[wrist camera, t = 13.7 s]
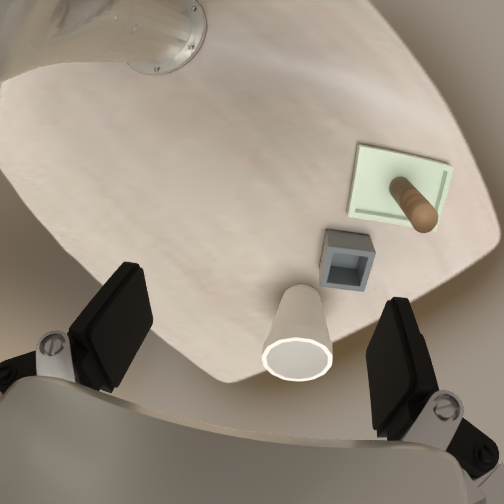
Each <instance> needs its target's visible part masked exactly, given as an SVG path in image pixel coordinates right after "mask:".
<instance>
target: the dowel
mask: <svg viewBox="0 0 504 504" xmlns="http://www.w3.org/2000/svg"><path fill="white" fill-rule="evenodd" d="M389 191H390V194H391V195H392V197H393V198H394V200H395V201H396V202H397V204H398V205H399V207H400V208H401V210H402V211H403V212H404V214H405V215H406V217H407V218H408V220H409V221H410V223H411V224H412V226H413V227H414V229H415V230H416V231H418V232H420V233H427V232H430V231H431V230H433V229H434V228H435V226H436V225H437V222H438V212H437V210H436V209H435V208H434V207H433V206H432V205H431V204H430V202H429V201H428V200H427V199H426V198H425V197H424V196H423V195H422V194H421V193H420V192H419V191H418V190H417V189H416V188H415V187H414V186H413V185H412V184H411V183H410V182H409V181H408V180H407V179H406V178H404V177H396V178H395V179H393V180H392V181H391V183H390V186H389Z"/></svg>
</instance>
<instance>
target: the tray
mask: <svg viewBox="0 0 504 504" xmlns="http://www.w3.org/2000/svg"><path fill="white" fill-rule="evenodd" d="M453 168H454V167H453V166H451V165H450V164H448V163H444V162H441V161H437V160H433V159H429V158H425V157H421V156H417V155H412V154H408V153H403V152H399V151H394V150H389V149H384V148H379V147H374V146H369V145H363V144H357V151H356V158H355V164H354V171H353V177H352V183H351V189H350V195H349V200H348V206H347V211H346V212H347V215H348V217H352V218H359V219H365V220H372V221H379V222H385V223H391V224H398V225H404V226H410V227H413V226H412V224H411V223H410V221H409V220H408V218H407V217H406V215H405V214H404V212H403V211H402V210H401V208H400V207H399V205H398V204H397V202H396V201H395V200H394V198H393V197H392V195H391V194H390V191H389V186H390V183H391V181H392V180H393V179H395V178H396V177H404V178H406V179H407V180H408V181H409V182H410V183H411V184H412V185H413V186H414V187H415V188H416V189H417V190H418V191H419V192H420V193H421V194H422V195H423V196H424V197H425V198H426V199H427V200H428V201H429V202H430V204H431V205H432V206H433V207H434V208H435V209H436V210H437V212H438V222H437V225H436V226H435V228H434V229H433V231H437V228H438V224H439V221H440V218H441V214H442V211H443V208H444V204H445V200H446V197H447V193H448V189H449V185H450V181H451V177H452V172H453Z"/></svg>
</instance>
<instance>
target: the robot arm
mask: <svg viewBox="0 0 504 504" xmlns="http://www.w3.org/2000/svg"><path fill="white" fill-rule="evenodd" d="M195 9H197V10H196V11H194V10H195ZM205 33H206V18H205V14H204V11H203V10H202V8H201V6H200V5H199V4H198V3H197V2H196V1H195V0H0V83H1V82H3V81H6V80H8V79H11V78H13V77H15V76H17V75H20V74H22V73H25V72H27V71H30V70H32V69H35V68H38V67H42V66H46V65H52V64H59V63H70V62H126V63H127V64H128V65H129V66H130V67H131V68H133V69H134V70H136V71H138V72H140V73H144V74H151V75H158V74H165V73H170V72H172V71H174V70H177V69H179V68H180V67H182V66H183V65H185V64H186V63H187V62H189V61H190V60H191V59H192V58H193V57H194V55H195V54H196V53H197V52H198V50H199V48H200V47H201V45H202V43H203V40H204V37H205ZM194 45H195V48H194V49H193V48H192V47H193V46H194ZM159 68H160V70H159ZM152 324H153V315H152V311H151V306H150V302H149V297H148V292H147V287H146V282H145V277H144V271H143V269H142V268H140V266H139V264H137V263H132V262H123V263H122V264H121V266H120V267H119V268H118V269H117V270H116V271H115V272H114V274H113V275H112V276H111V277H110V278H109V279H108V281H107V282H106V283H105V284H104V285H103V287H102V288H101V289H100V290H99V291H98V293H97V294H96V295H95V296H94V298H93V299H92V300H91V301H90V302H89V304H88V305H87V306H86V307H85V309H84V310H83V311H82V312H81V314H80V315H79V316H78V317H77V319H76V320H75V321H74V323H73V324H72V325H71V326H70V328H69V332H68V333H67V334H66V333H64V332H62V331H57V330H56V331H50V332H48V333H46V334H44V335H43V336H42V337H41V338H40V339H39V341H38V343H37V344H36V350H35V351H32V352H29V353H26V354H23V355H20V356H17V357H14V358H11V359H8V360H5V361H3V362H1V363H0V504H504V464H503V463H501V464H499V463H498V460H499V450H498V447H497V445H496V443H495V442H494V441H493V440H492V439H490V438H489V437H488V436H486V435H485V434H484V433H482V432H481V431H480V430H479V429H477V428H476V427H474V426H473V425H472V424H471V423H469V422H468V421H467V420H465V419H464V418H463V413H464V409H463V408H464V407H463V404H462V402H461V400H460V399H459V397H458V396H457V395H455V394H454V393H452V392H450V391H446V390H440V391H439V387H438V384H437V380H436V376H435V373H434V369H433V365H432V362H431V359H430V355H429V352H428V349H427V346H426V342H425V339H424V337H423V335H422V334H421V333H420V331H419V328H418V325H417V322H416V319H415V317H414V314H413V311H412V308H411V305H410V302H409V300H408V299H407V298H401V297H393V298H392V299H391V300H388V301H387V302H386V304H385V307H384V310H383V312H382V315H381V317H380V319H379V322H378V324H377V327H376V329H375V331H374V334H373V336H372V338H371V341H370V343H369V345H368V347H367V350H366V361H367V370H368V379H369V388H370V399H371V410H372V424H373V429H374V430H377V437H387V441H383V440H337V439H318V438H305V437H293V436H284V435H276V434H268V433H261V432H254V431H247V430H241V429H235V428H229V427H224V426H220V425H214V424H210V423H205V422H201V421H196V420H192V419H188V418H184V417H180V416H176V415H172V414H168V413H164V412H161V411H158V410H154V409H151V408H147V407H144V406H141V405H138V404H135V403H131V402H128V401H125V400H123V399H119V398H117V397H114V396H111V395H108V394H105V393H102V392H99V390H100V389H101V390H103V391H106V392H109V393H112V391H113V389H114V388H115V387H118V386H119V385H120V383H121V381H122V379H123V377H124V375H125V373H126V372H127V370H128V368H129V366H130V364H131V362H132V360H133V359H134V357H135V355H136V353H137V351H138V350H139V348H140V346H141V344H142V342H143V341H144V339H145V337H146V335H147V333H148V332H149V330H150V328H151V326H152Z"/></svg>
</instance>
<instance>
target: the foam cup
mask: <svg viewBox="0 0 504 504" xmlns="http://www.w3.org/2000/svg"><path fill="white" fill-rule="evenodd" d="M262 360H263V365H264V367H265V368H266V369H267V370H268V371H269V372H270V373H271V374H273V375H275V376H277V377H280V378H282V379H284V380H292V381H306V380H312V379H315V378H317V377H319V376H321V375H323V374H325V373H326V372H327V370H328V369H329V368H330V367H331V366H332V342H331V340H330V338H329V333H328V328H327V324H326V319H325V315H324V310H323V306H322V302H321V298H320V295H319V293H318V292H317V290H316V289H314V288H312V287H311V286H309V285H302V284H299V285H294V286H291V287H290V288H288V289H287V290H285V292H284V294H283V296H282V299H281V301H280V304H279V307H278V310H277V313H276V316H275V318H274V321H273V324H272V327H271V330H270V333H269V335H268V337H267V339H266V341H265V343H264V346H263V352H262Z"/></svg>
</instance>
